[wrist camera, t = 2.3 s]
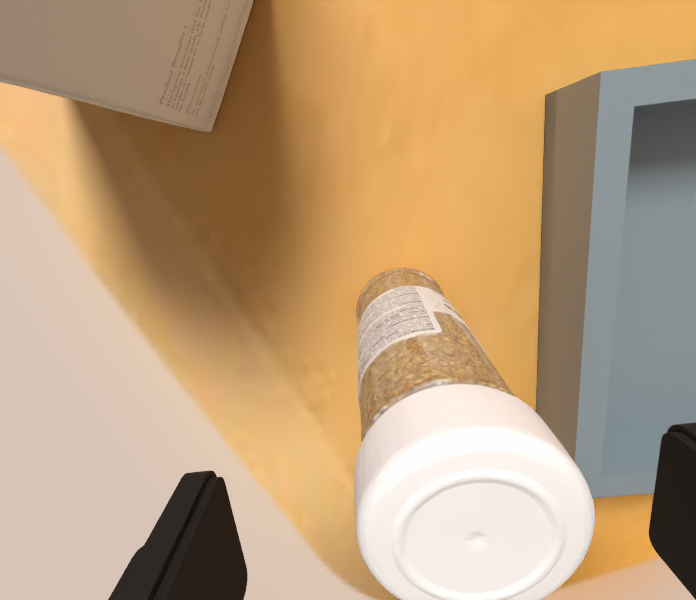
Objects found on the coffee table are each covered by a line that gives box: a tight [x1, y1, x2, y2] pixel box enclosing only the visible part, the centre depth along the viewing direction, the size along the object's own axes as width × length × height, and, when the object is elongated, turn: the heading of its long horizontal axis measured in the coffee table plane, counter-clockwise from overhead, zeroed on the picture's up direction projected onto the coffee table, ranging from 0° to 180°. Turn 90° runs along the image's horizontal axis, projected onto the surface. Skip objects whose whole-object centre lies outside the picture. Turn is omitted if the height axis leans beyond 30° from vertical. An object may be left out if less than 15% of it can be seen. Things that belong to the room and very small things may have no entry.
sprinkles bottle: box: [354, 268, 595, 600], centre depth 14 cm, size 5×5×13 cm
